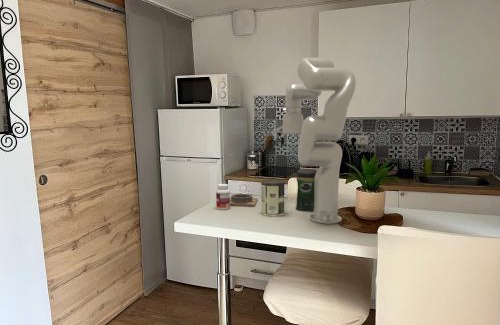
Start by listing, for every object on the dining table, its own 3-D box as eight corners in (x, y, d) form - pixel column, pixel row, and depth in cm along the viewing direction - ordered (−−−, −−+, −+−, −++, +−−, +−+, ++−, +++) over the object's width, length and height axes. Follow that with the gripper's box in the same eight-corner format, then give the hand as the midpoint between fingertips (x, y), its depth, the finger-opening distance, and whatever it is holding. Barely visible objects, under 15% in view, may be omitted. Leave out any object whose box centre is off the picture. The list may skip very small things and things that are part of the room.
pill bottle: (216, 207, 171) (216, 183, 170) (229, 206, 171) (229, 183, 170) (216, 210, 165) (216, 186, 163) (230, 209, 165) (230, 185, 164)
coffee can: (277, 209, 166) (278, 178, 165) (288, 215, 157) (289, 182, 155) (257, 211, 162) (257, 180, 161) (266, 217, 153) (266, 183, 151)
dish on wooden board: (254, 206, 171) (254, 199, 171) (225, 205, 173) (225, 198, 173) (257, 200, 185) (257, 193, 185) (230, 199, 187) (230, 192, 186)
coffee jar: (318, 208, 169) (319, 168, 167) (316, 212, 161) (317, 170, 159) (297, 206, 172) (298, 167, 170) (294, 210, 164) (295, 169, 162)
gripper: (275, 110, 179) (274, 146, 180) (311, 110, 176) (310, 146, 178) (276, 111, 186) (276, 145, 188) (311, 111, 183) (310, 145, 185)
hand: (292, 145), depth 183 cm, fingers open, 9 cm apart
